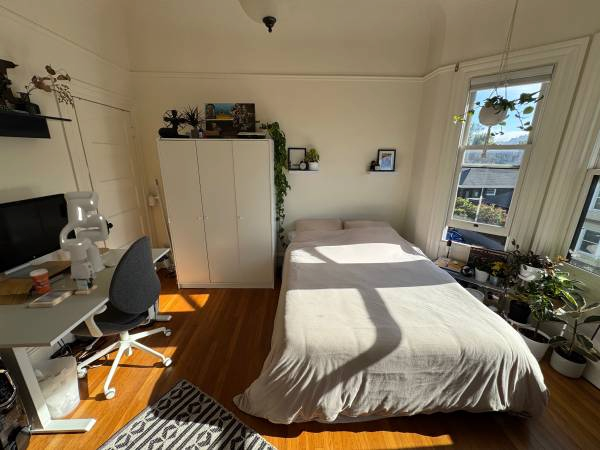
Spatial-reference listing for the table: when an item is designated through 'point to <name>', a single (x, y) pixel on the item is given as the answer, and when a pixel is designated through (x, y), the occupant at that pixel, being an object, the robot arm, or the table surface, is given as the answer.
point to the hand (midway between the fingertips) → (85, 287)
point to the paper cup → (40, 280)
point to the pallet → (84, 287)
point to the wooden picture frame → (51, 298)
